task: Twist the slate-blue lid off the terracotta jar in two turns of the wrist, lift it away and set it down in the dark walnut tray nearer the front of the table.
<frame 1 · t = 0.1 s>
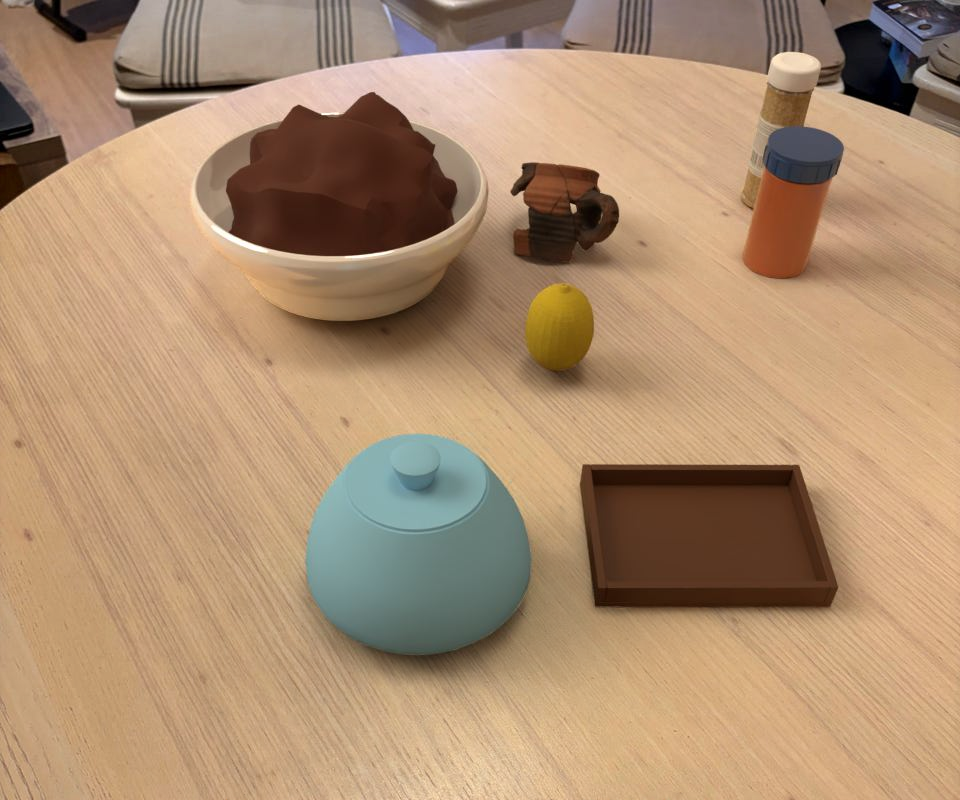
lemon: (555, 372, 86), on the table
lid: (804, 148, 88), point 11 cm above the table, screwed on, not yet turned
sugar bowl: (419, 586, 70), on the table
jar: (773, 260, 97), on the table
bowl of chocolate mousse: (348, 282, 93), on the table
sprinkles bottle: (761, 203, 104), on the table
tray: (699, 542, 73), on the table
pottery mug: (561, 243, 98), on the table
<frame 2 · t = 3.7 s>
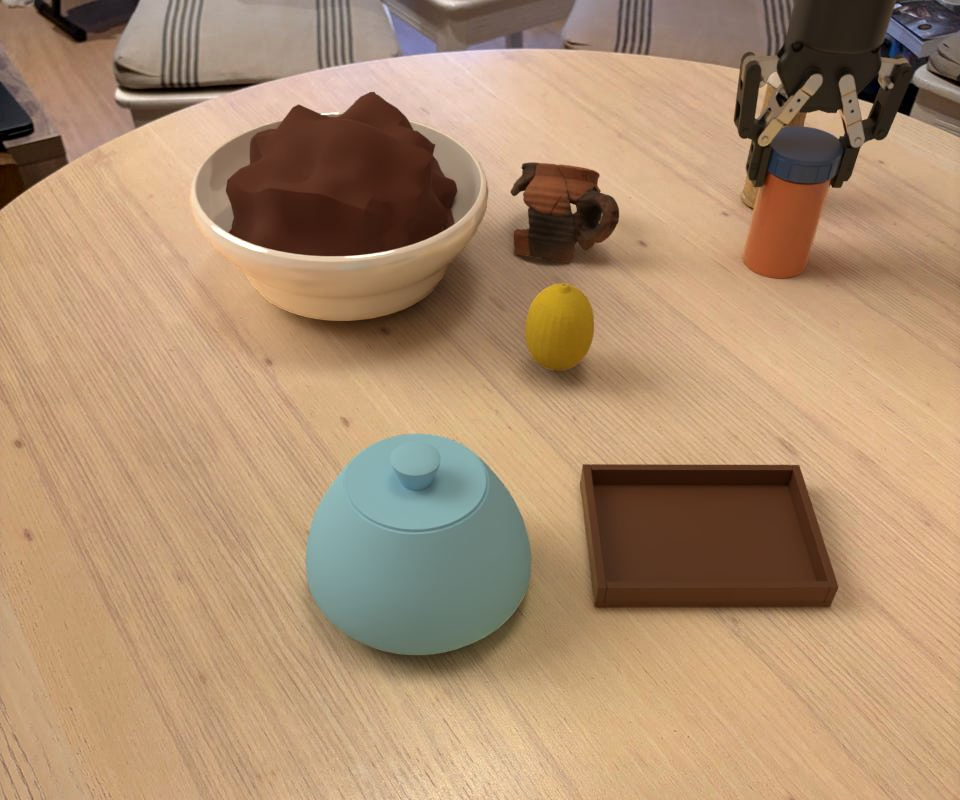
hand: (794, 182, 91), 8 cm above the table, tool pointing down, fingers closed on lid, 6 cm apart
lid: (804, 148, 88), point 11 cm above the table, screwed on, not yet turned, touching gripper
everything else where it was.
when the fingers open (7 cm above the table, at t = 5.9 s): lid stays where it is, point 11 cm above the table.
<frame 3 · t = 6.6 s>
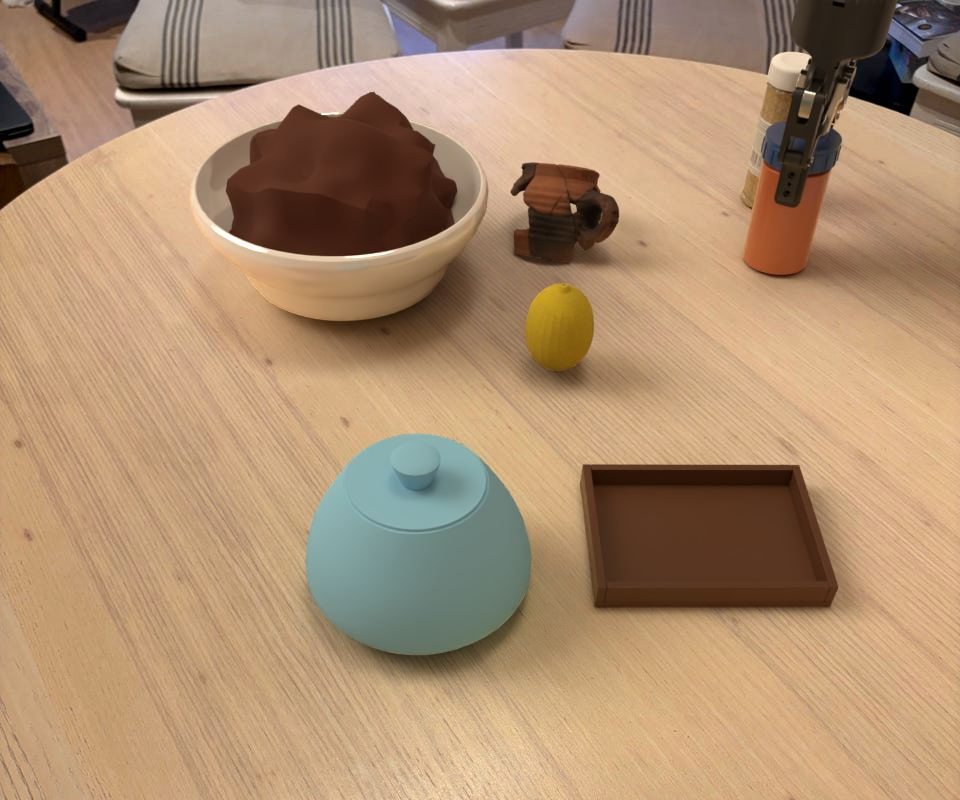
hand: (798, 183, 91), 7 cm above the table, tool pointing down, fingers open, 7 cm apart
lid: (802, 140, 88), point 11 cm above the table, turned 85° so far, risen 0.2 cm, still on its thread
everything else where it was.
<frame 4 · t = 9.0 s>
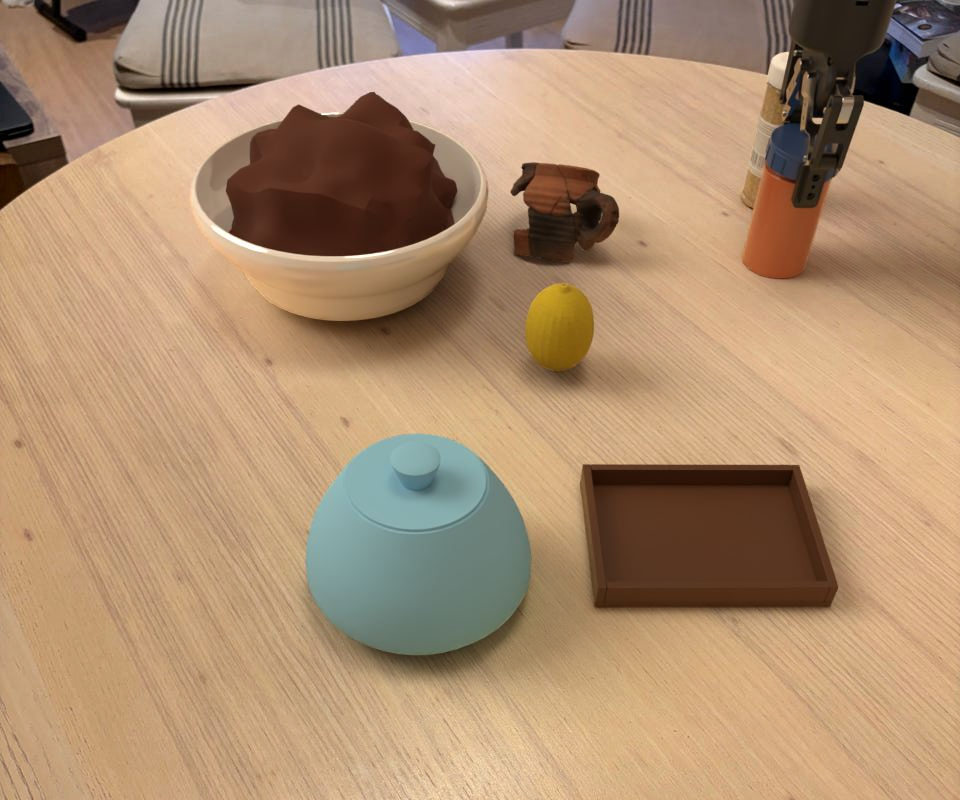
hand: (794, 184, 91), 8 cm above the table, tool pointing down, fingers closed on lid, 6 cm apart
lid: (807, 146, 88), point 11 cm above the table, off its thread, touching gripper
everything else where it was.
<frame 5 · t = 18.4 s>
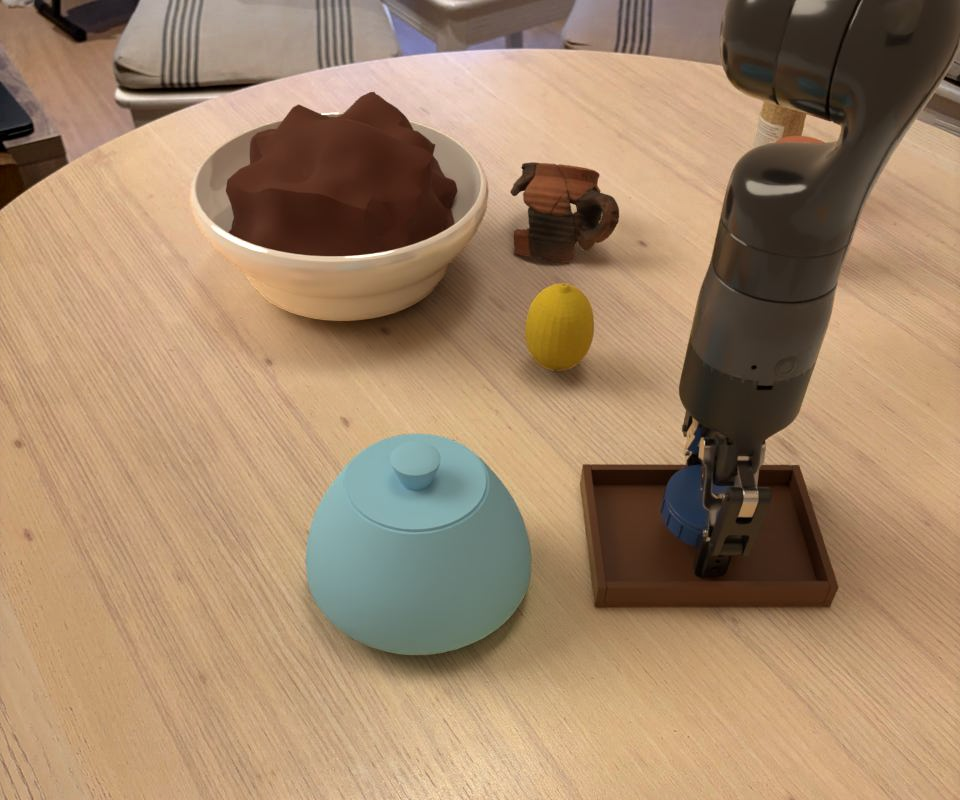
hand: (700, 536, 73), 1 cm above the table, tool pointing down, fingers closed on lid, 6 cm apart
lid: (712, 500, 70), point 4 cm above the table, off its thread, touching gripper
everything else where it was.
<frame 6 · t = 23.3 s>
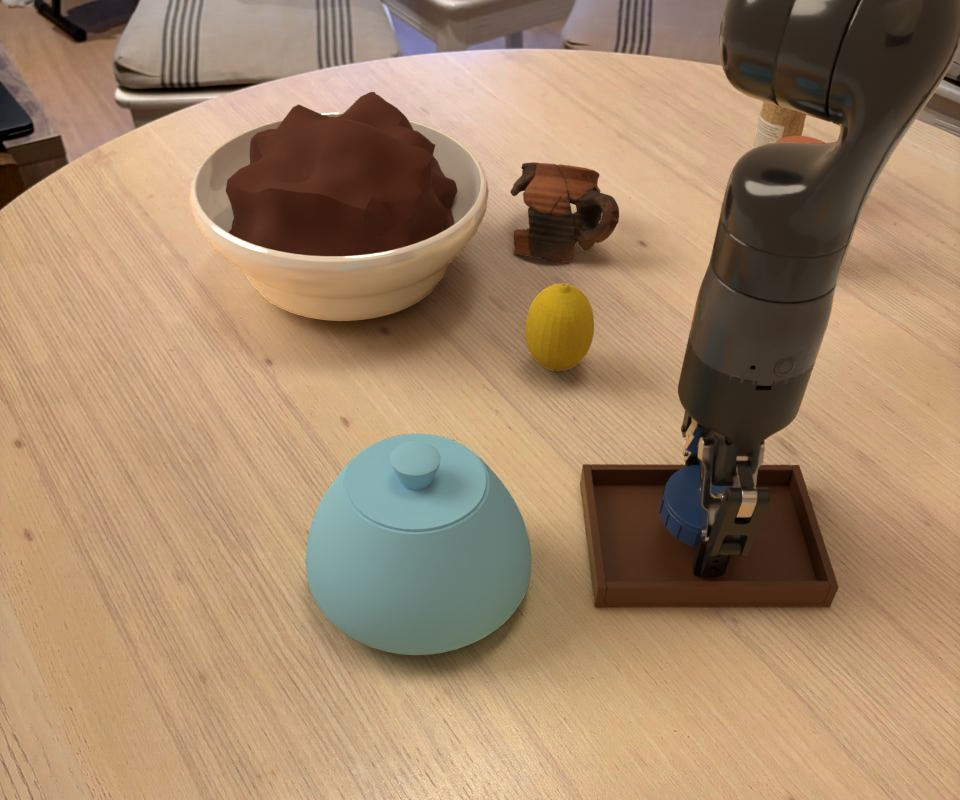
hand: (699, 536, 73), 1 cm above the table, tool pointing down, fingers closed on lid, 6 cm apart
lid: (710, 501, 70), point 4 cm above the table, off its thread, touching gripper
everything else where it was.
when the fingers open (1 cm above the table, at t = 27.7 s): lid drops 3 cm, resting on tray.
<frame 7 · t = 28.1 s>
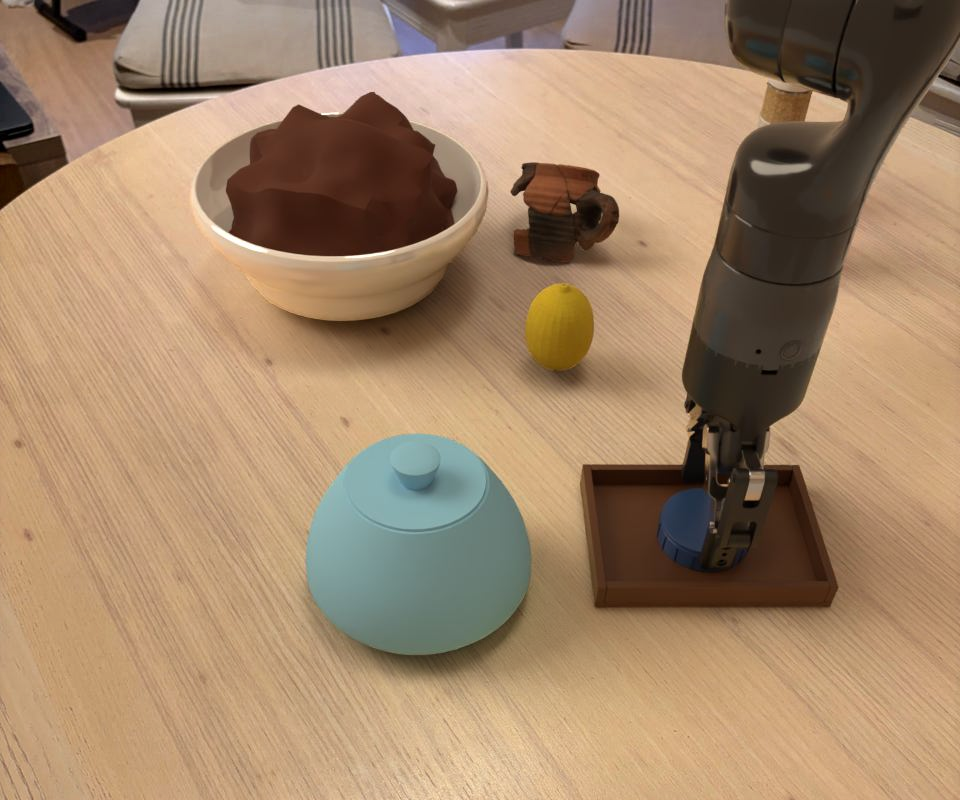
hand: (704, 521, 72), 2 cm above the table, tool pointing down, fingers open, 8 cm apart
lid: (706, 523, 72), point 2 cm above the table, off its thread, touching tray
everything else where it was.
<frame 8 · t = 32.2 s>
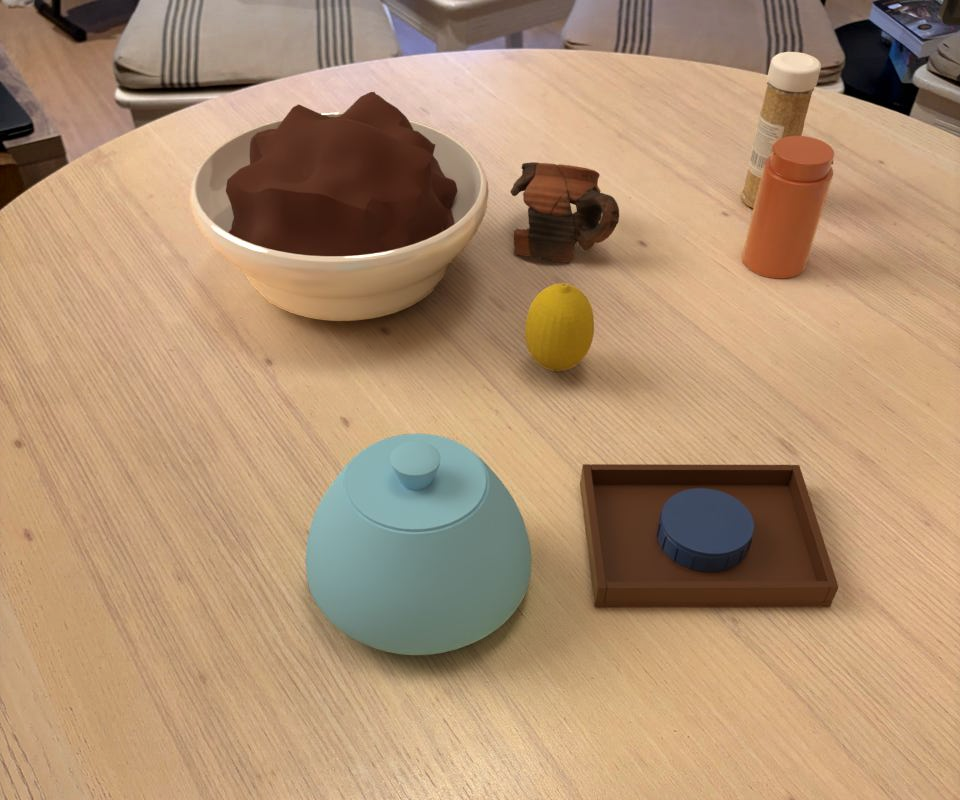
nothing on the table moved.
at the end: lid inside the target area in the tray (0.1 cm from its centre), point 2.0 cm above the tray's base; the gripper is holding nothing; jar tilted 0° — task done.
